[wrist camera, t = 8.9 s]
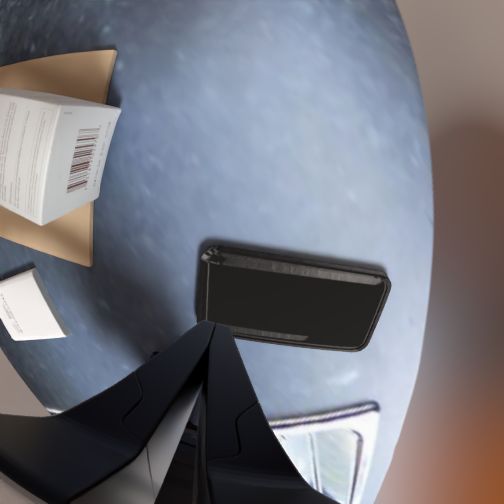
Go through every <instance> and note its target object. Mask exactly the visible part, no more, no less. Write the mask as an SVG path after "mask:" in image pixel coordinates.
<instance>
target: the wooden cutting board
mask: <svg viewBox="0 0 504 504" xmlns="http://www.w3.org/2000/svg"><path fill="white" fill-rule="evenodd" d="M117 52H118V51H116V50H101V51H88V52H78V53H70V54H62V55H56V56H49V57H43V58H38V59H33V60H28V61H23V62H19V63H15V64H11V65H7V66H3V67H0V88H15V89H24V90H32V91H38V92H45V93H51V94H56V95H62V96H67V97H72V98H77V99H82V100H86V101H91V102H96V103H100V104H106V99H107V94H108V89H109V84H110V80H111V75H112V71H113V67H114V63H115V59H116V55H117ZM93 210H94V200H93V201H91V202H89V203H87V204H85V205H83V206H81V207H79V208H77V209H75V210H73V211H71V212H69V213H67V214H65V215H63V216H61V217H59V218H57V219H55V220H53V221H51V222H49V223H47V224H45V225H43V226H40V225H38V224H36V223H34V222H32V221H30V220H28V219H26V218H24V217H22V216H20V215H18V214H16V213H14V212H12V211H10V210H8V209H7V208H5V207H3V206H1V205H0V237H3V238H6V239H8V240H11V241H14V242H16V243H19V244H22V245H25V246H27V247H30V248H33V249H36V250H39V251H42V252H45V253H48V254H50V255H53V256H56V257H59V258H62V259H65V260H69V261H72V262H75V263H78V264H81V265H84V266H87V267H91V266H92V265H93Z"/></svg>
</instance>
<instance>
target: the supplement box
mask: <svg viewBox="0 0 504 504" xmlns="http://www.w3.org/2000/svg"><path fill="white" fill-rule="evenodd" d="M120 113H121V108H118V107H113V106H109V105H105V104H100V103H96V102H91V101H86V100H82V99H77V98H72V97H67V96H62V95H56V94H51V93H45V92H38V91H32V90H24V89H15V88H0V205H1V206H3V207H5V208H7V209H8V210H10V211H12V212H14V213H16V214H18V215H20V216H22V217H24V218H26V219H28V220H30V221H32V222H34V223H36V224H38V225H40V226H43V225H45V224H47V223H49V222H51V221H53V220H55V219H57V218H59V217H61V216H63V215H65V214H67V213H69V212H71V211H73V210H75V209H77V208H79V207H81V206H83V205H85V204H87V203H89V202H91V201H93V200H95V199H97V198H98V197H99V192H100V184H101V179H102V174H103V170H104V165H105V161H106V157H107V153H108V149H109V145H110V142H111V138H112V135H113V132H114V128H115V125H116V122H117V119H118V117H119V115H120Z"/></svg>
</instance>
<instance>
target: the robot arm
mask: <svg viewBox="0 0 504 504" xmlns="http://www.w3.org/2000/svg"><path fill="white" fill-rule="evenodd" d="M258 402H259V401H258V398H257V396H256V393H255V391H254V388H253V386H252V384H251V381H250V379H249V376H248V374H247V371H246V369H245V366H244V363H243V361H242V358H241V356H240V353H239V351H238V348H237V345H236V343H235V340H234V338H233V335H232V332H231V330H230V327H229V326H227V325H223V324H216V325H215V323H214V322H210V321H206V320H202V321H201V322H199V323H198V324H197V325H195V326H194V327H193V328H191V329H190V330H189V331H187V332H186V333H185V334H183V335H182V336H181V337H179V338H178V339H177V340H175V341H174V342H173V343H171V344H170V345H169V346H167V347H166V348H165V349H163V350H162V351H161V352H159V353H158V352H154V353H153V354H152V356H151V359H150V360H148V361H147V362H146V363H144V364H143V365H142V366H140V367H139V368H138V369H136V370H135V372H134V371H133V372H132V373H131V374H129V375H128V376H126V377H125V378H124V379H122V380H121V381H119V382H118V383H116V384H115V385H113V386H111V387H110V388H108V389H106V390H104V391H103V392H101V393H99V394H97V395H95V396H93V397H91V398H90V399H88V400H86V401H84V402H82V403H80V404H78V405H76V406H74V407H72V408H70V409H68V410H66V411H64V412H61V413H59V414H56V415H52V416H46V417H35V416H20V415H10V414H1V413H0V504H340V503H338V502H337V501H335V500H333V499H331V498H329V497H327V496H325V495H324V494H322V493H320V492H318V491H317V490H315V489H314V488H313V487H311V486H310V485H309V484H308V483H307V482H306V481H305V480H304V478H303V477H302V476H301V474H300V473H299V472H298V470H297V469H296V467H295V466H294V464H293V463H292V461H291V460H290V458H289V456H288V455H287V453H286V452H285V450H284V449H283V447H282V446H281V444H280V442H279V441H278V439H277V437H276V436H275V434H274V432H273V431H272V429H271V427H270V425H269V423H268V421H267V419H266V417H265V415H264V412H263V410H262V408H261V405H260V403H258Z"/></svg>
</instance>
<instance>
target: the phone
mask: <svg viewBox="0 0 504 504" xmlns="http://www.w3.org/2000/svg"><path fill="white" fill-rule="evenodd" d="M390 290H391V282H390V280H389V278H388V277H387V275H386V274H385V273H383V272H381V271H375V270H369V269H363V268H357V267H350V266H344V265H338V264H332V263H325V262H319V261H313V260H307V259H300V258H294V257H288V256H281V255H275V254H269V253H263V252H256V251H250V250H244V249H237V248H231V247H225V246H211V247H209V248H208V249H206V251H205V252H204V254H203V255H202V257H201V261H200V274H199V288H198V304H197V324H198V323H199V322H201V321H202V320H206V321H210V322H214V323H215V325H216V324H223V325H227V326H229V327H230V330H231V332H232V335H233V338H236V339H242V340H249V341H255V342H262V343H270V344H277V345H285V346H293V347H302V348H311V349H321V350H332V351H343V352H358V351H361V350H363V349H364V348H365V347H366V346H367V345H368V344H369V341H370V339H371V337H372V335H373V332H374V330H375V328H376V325H377V323H378V321H379V318H380V316H381V313H382V311H383V308H384V306H385V303H386V301H387V298H388V295H389V293H390Z"/></svg>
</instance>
